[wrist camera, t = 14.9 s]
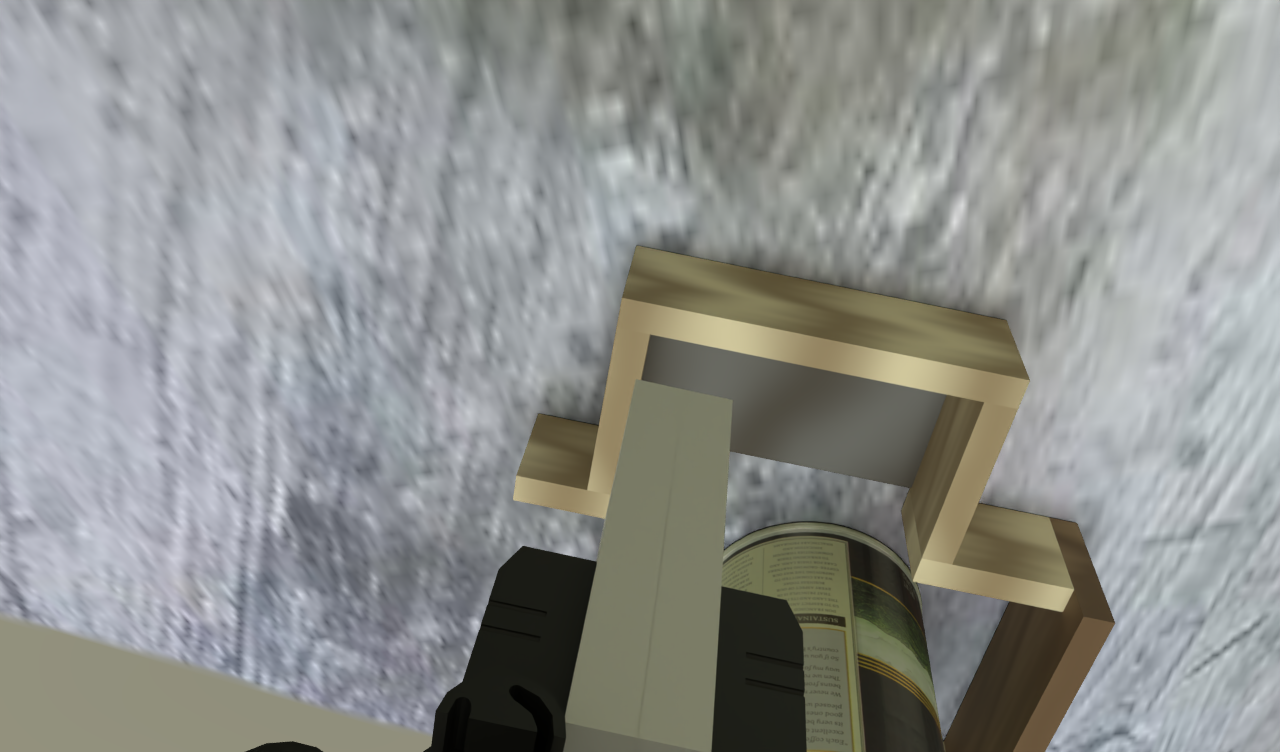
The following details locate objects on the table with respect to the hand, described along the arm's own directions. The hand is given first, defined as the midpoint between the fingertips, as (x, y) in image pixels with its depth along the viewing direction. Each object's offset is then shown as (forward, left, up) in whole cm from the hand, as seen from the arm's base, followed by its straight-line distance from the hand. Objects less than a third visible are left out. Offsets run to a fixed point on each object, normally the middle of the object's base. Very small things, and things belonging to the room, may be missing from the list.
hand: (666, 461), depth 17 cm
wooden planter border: (+6, -24, -24) cm, 34 cm away
